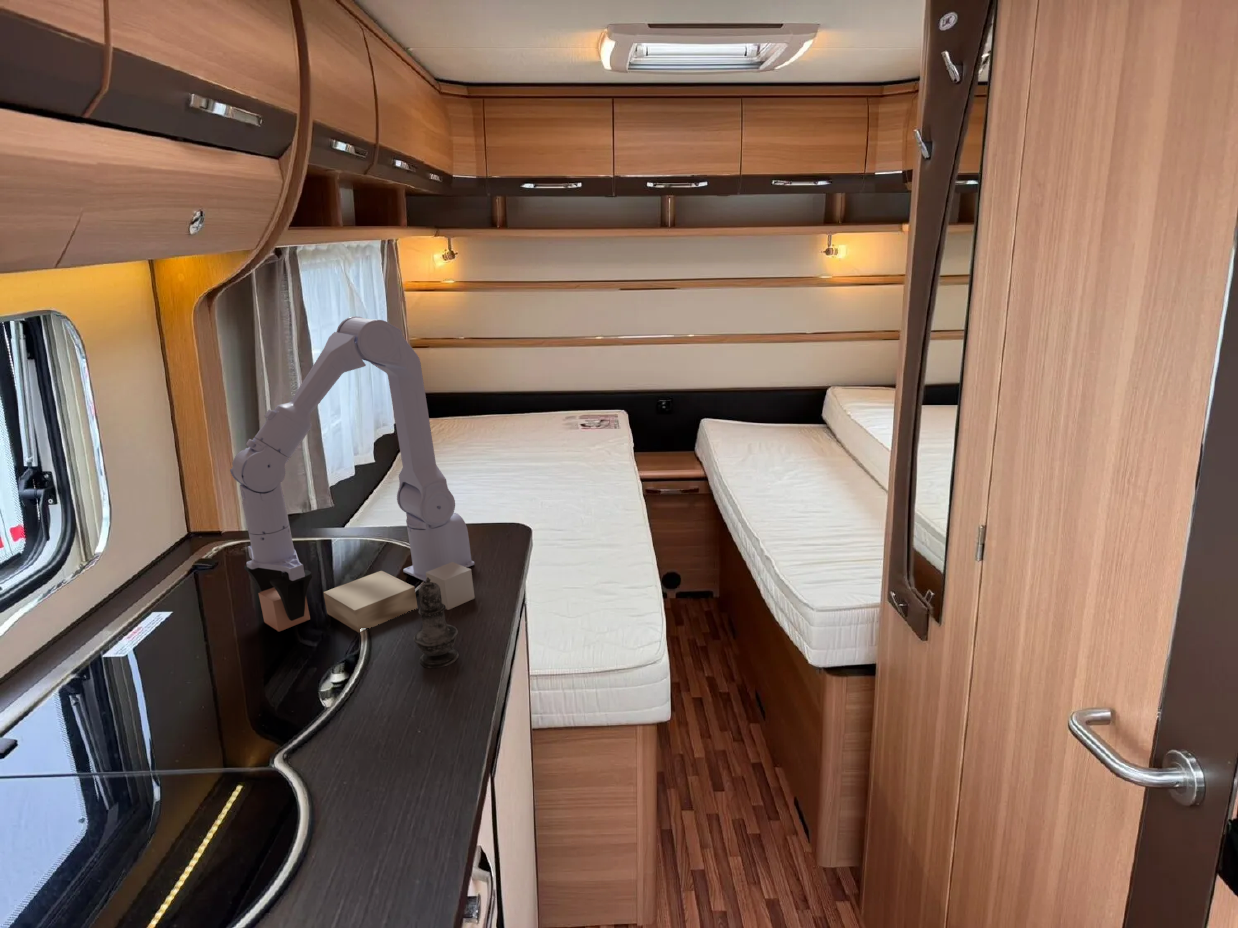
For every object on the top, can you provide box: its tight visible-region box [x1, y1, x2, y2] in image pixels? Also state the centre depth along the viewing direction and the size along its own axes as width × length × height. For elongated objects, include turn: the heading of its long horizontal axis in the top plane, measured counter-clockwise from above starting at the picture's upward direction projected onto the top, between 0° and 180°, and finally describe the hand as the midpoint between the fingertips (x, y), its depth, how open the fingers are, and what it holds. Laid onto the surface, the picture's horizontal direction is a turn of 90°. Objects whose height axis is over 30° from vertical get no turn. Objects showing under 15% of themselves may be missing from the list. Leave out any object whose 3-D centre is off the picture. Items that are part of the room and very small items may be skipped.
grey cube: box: [426, 562, 475, 610], centre depth 135 cm, size 5×5×5 cm
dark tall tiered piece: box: [413, 577, 460, 669], centre depth 116 cm, size 6×6×12 cm
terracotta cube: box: [258, 588, 311, 632], centre depth 131 cm, size 5×5×5 cm
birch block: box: [323, 570, 419, 633], centre depth 133 cm, size 10×10×4 cm
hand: (285, 610), depth 132 cm, fingers open, 7 cm apart
